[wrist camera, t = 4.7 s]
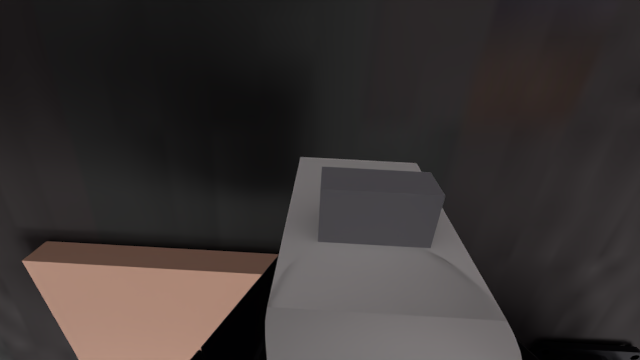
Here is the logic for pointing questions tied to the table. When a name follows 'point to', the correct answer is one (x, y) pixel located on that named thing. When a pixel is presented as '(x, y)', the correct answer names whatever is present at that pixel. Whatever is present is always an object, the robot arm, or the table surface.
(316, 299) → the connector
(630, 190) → the table surface
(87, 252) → the terracotta tile
